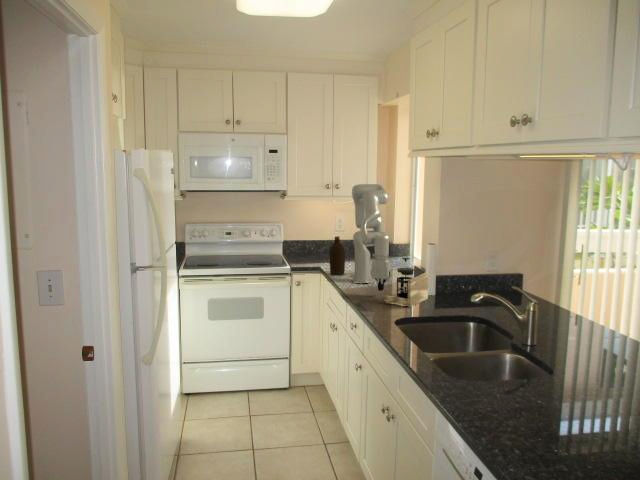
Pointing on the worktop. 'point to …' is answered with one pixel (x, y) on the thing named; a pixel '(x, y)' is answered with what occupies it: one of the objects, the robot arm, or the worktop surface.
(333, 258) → the olive oil
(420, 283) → the shelf bay
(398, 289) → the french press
